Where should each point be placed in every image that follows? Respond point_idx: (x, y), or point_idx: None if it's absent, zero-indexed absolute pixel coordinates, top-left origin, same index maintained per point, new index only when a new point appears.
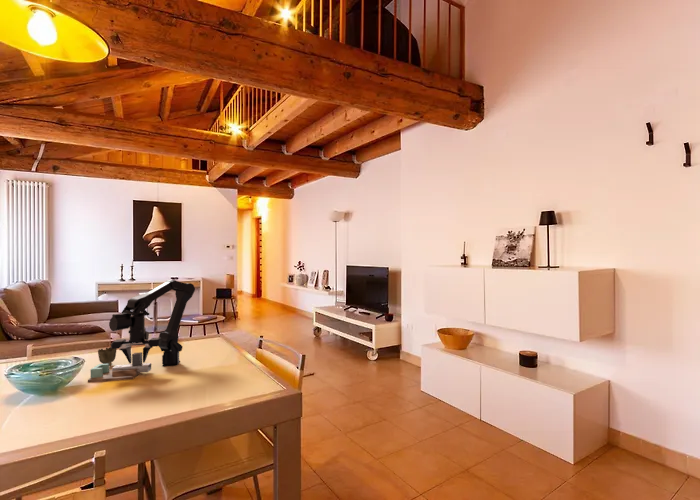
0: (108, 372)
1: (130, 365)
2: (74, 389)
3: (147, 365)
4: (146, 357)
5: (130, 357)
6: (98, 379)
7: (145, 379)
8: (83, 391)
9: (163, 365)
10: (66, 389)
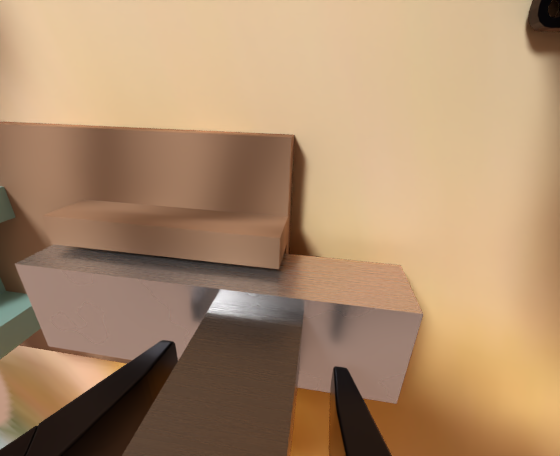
0: (19, 214)
1: (186, 333)
2: (50, 407)
3: (387, 397)
4: (377, 431)
5: (122, 432)
6: (70, 351)
7: (373, 403)
8: None
9: (554, 28)
10: (12, 394)
